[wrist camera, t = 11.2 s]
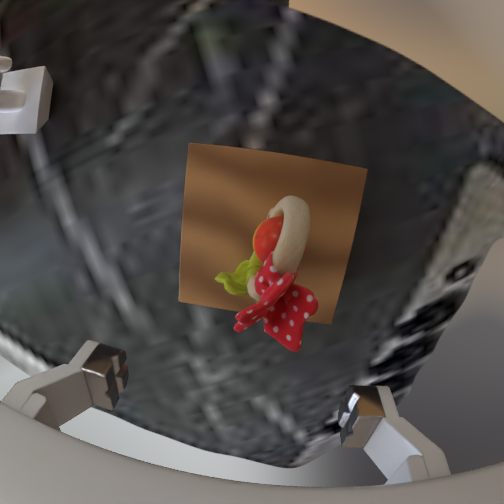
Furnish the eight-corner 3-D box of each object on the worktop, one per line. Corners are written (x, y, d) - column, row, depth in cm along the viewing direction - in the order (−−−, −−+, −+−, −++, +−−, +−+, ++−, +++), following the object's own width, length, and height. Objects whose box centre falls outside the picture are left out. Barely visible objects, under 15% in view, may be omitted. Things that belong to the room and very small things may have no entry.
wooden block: (206, 140, 29) (188, 142, 23) (351, 162, 28) (367, 169, 23) (194, 273, 34) (178, 301, 28) (323, 293, 33) (331, 324, 28)
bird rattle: (241, 196, 26) (207, 303, 26) (245, 151, 15) (187, 331, 15) (313, 220, 27) (281, 325, 26) (363, 192, 16) (311, 366, 15)
